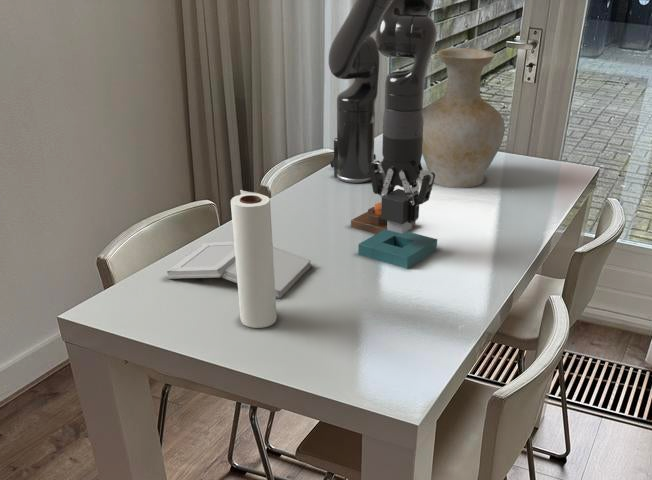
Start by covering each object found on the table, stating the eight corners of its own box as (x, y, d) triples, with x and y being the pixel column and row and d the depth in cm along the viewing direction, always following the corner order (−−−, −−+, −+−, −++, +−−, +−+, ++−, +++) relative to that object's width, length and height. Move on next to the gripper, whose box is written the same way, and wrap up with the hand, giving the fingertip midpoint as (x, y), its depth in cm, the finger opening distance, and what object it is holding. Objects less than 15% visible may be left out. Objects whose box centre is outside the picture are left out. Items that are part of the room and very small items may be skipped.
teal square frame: (358, 255, 155) (358, 243, 154) (389, 237, 163) (389, 226, 162) (407, 269, 150) (407, 257, 148) (436, 250, 158) (437, 239, 157)
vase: (418, 163, 207) (424, 43, 191) (499, 168, 205) (512, 47, 189) (409, 189, 189) (414, 59, 173) (498, 195, 187) (512, 64, 171)
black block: (380, 230, 153) (381, 196, 149) (396, 222, 157) (397, 188, 153) (402, 236, 150) (403, 202, 147) (417, 227, 155) (419, 193, 151)
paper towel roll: (270, 330, 128) (263, 206, 116) (235, 327, 129) (224, 203, 117) (282, 311, 134) (277, 191, 122) (249, 307, 135) (240, 188, 123)
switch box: (350, 227, 167) (350, 212, 165) (373, 215, 174) (374, 200, 172) (393, 239, 162) (394, 223, 160) (415, 226, 169) (416, 211, 167)
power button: (370, 213, 166) (371, 206, 165) (380, 208, 169) (381, 201, 168) (386, 217, 164) (386, 210, 163) (396, 212, 167) (396, 204, 166)
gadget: (311, 266, 150) (311, 248, 148) (280, 299, 138) (279, 280, 136) (206, 249, 155) (204, 232, 153) (166, 279, 143) (164, 261, 141)
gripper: (446, 134, 143) (440, 221, 152) (381, 121, 149) (379, 206, 158) (426, 143, 138) (421, 233, 147) (359, 129, 144) (359, 216, 153)
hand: (399, 218), depth 153 cm, fingers closed on black block, 5 cm apart
